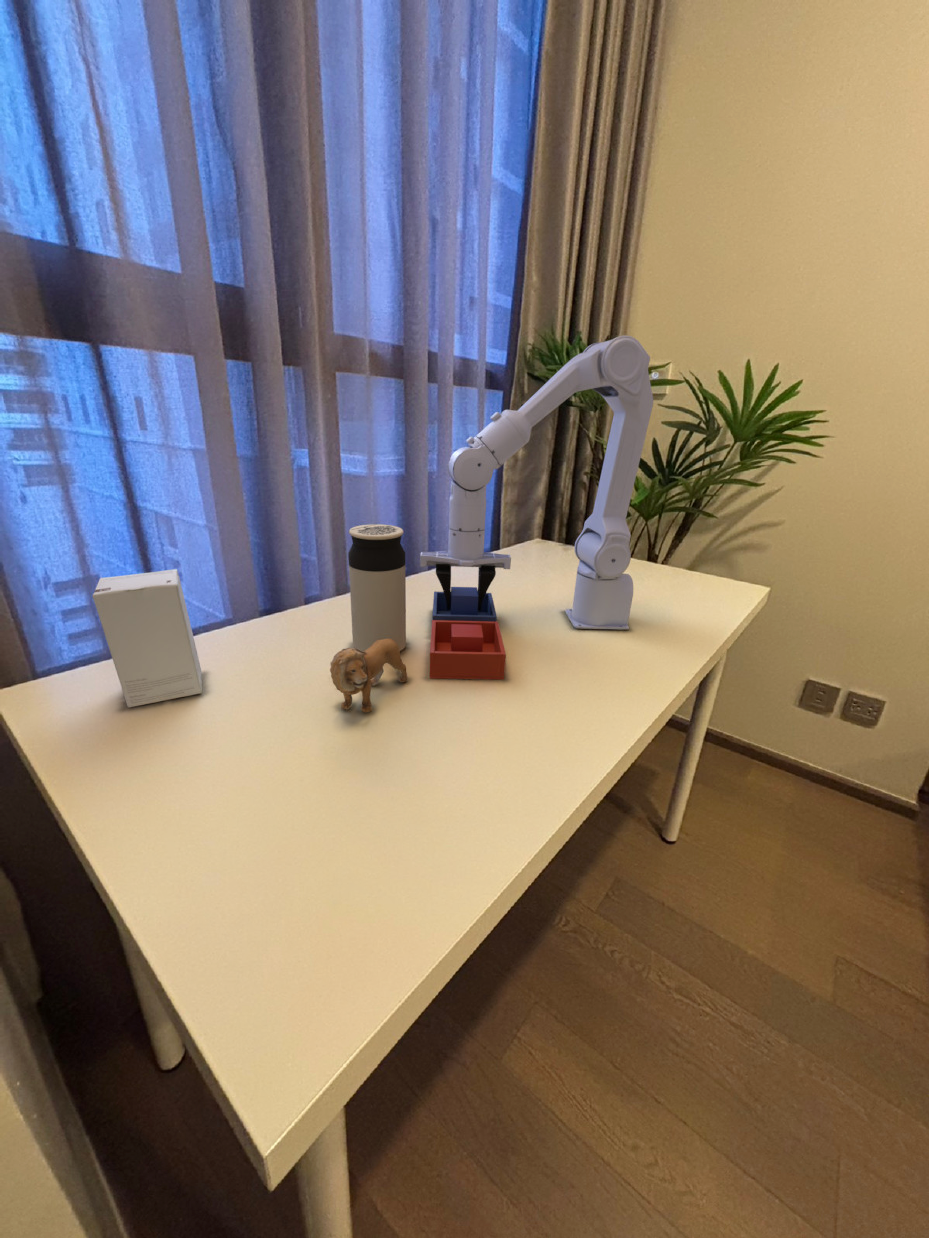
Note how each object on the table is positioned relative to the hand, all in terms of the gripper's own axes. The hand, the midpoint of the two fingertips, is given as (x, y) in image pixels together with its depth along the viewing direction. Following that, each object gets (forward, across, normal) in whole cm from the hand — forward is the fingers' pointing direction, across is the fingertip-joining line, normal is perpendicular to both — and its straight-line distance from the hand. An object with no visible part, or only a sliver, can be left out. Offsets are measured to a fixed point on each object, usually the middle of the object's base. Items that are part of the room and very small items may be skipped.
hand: (463, 608), depth 85 cm
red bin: (+3, 0, -13) cm, 13 cm away
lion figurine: (+3, -12, -24) cm, 27 cm away
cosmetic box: (+3, -38, -23) cm, 45 cm away
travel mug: (+3, -13, -9) cm, 16 cm away
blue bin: (+3, 0, 0) cm, 3 cm away
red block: (+3, 0, -13) cm, 13 cm away
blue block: (+1, 0, 0) cm, 1 cm away
